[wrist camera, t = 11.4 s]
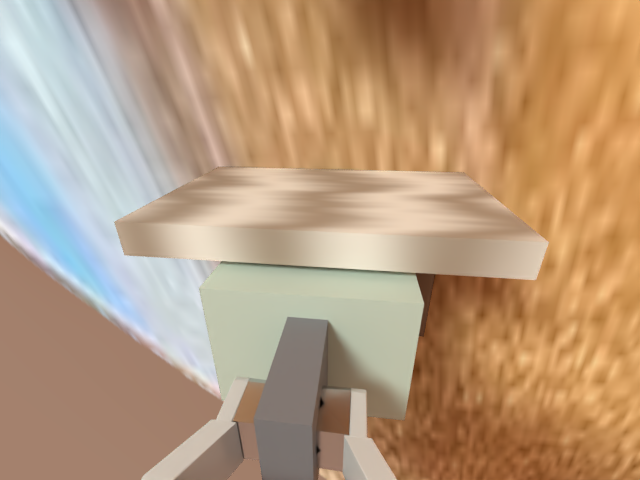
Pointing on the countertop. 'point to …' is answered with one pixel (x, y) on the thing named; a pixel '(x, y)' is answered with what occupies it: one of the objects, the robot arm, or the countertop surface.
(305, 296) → the cube with grey handle
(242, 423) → the robot arm
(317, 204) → the tan lidded box
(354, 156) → the countertop surface
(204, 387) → the countertop surface
